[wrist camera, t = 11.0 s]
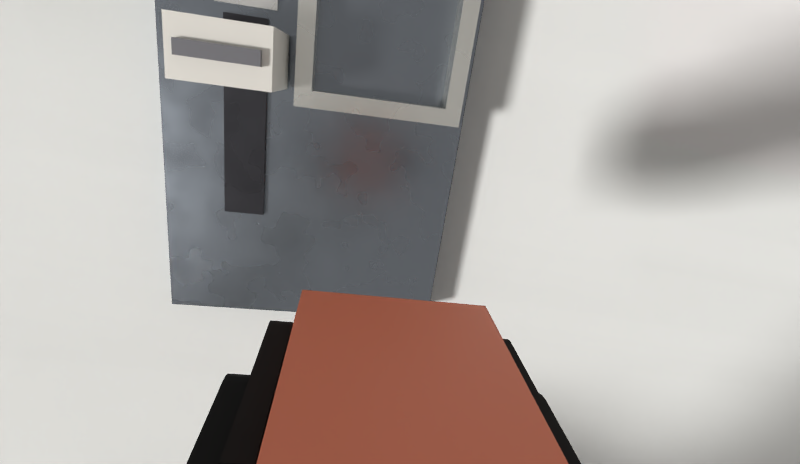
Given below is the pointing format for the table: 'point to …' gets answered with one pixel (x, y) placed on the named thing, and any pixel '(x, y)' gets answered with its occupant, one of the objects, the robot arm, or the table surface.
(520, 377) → the cap
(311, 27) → the panel
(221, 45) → the block
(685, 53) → the table surface
